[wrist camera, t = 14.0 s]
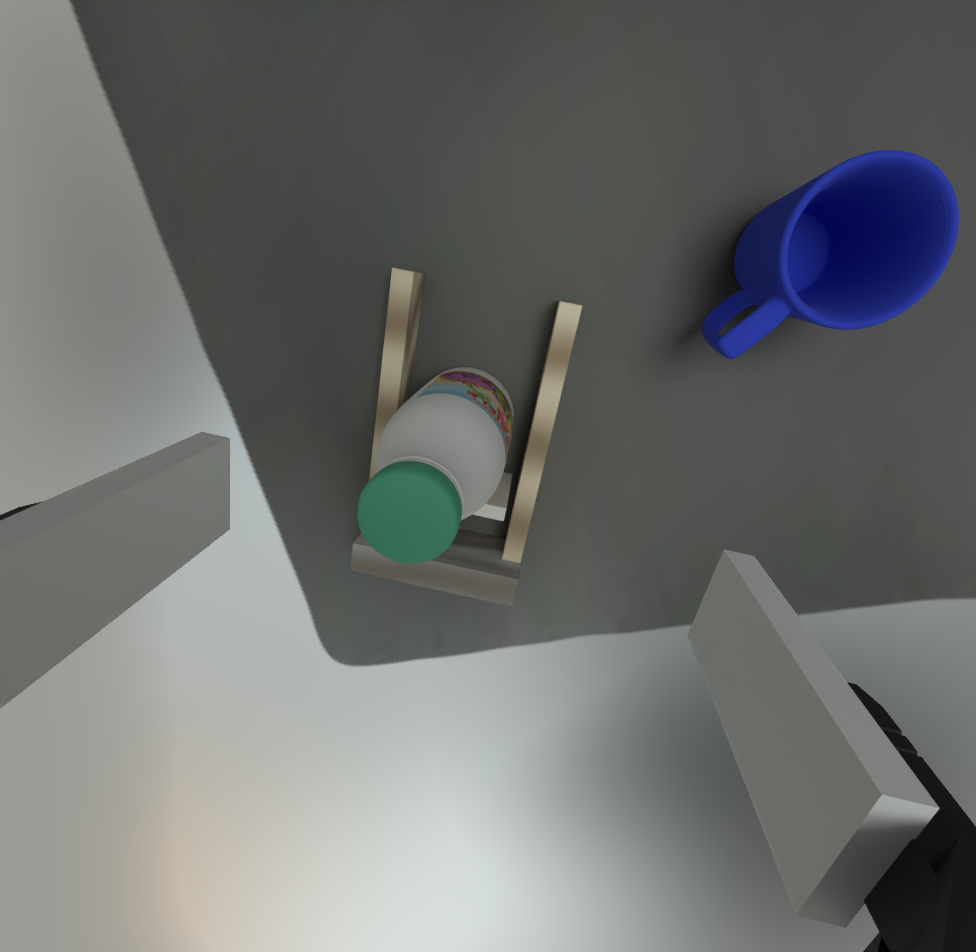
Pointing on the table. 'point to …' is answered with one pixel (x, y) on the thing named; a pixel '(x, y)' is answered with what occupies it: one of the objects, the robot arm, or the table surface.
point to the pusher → (497, 500)
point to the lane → (496, 561)
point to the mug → (841, 249)
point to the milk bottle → (436, 464)
